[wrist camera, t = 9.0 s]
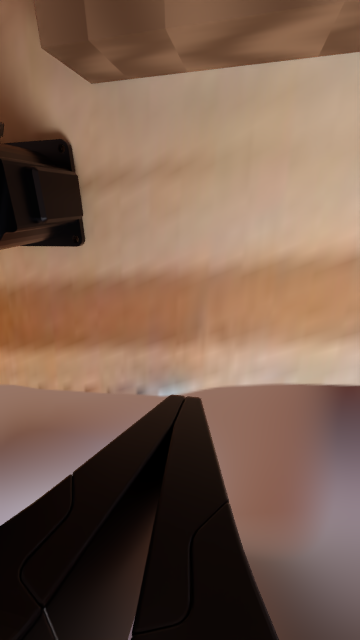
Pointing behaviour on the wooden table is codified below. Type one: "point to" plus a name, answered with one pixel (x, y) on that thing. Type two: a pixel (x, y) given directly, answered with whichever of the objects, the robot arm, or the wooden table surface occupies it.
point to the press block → (191, 34)
